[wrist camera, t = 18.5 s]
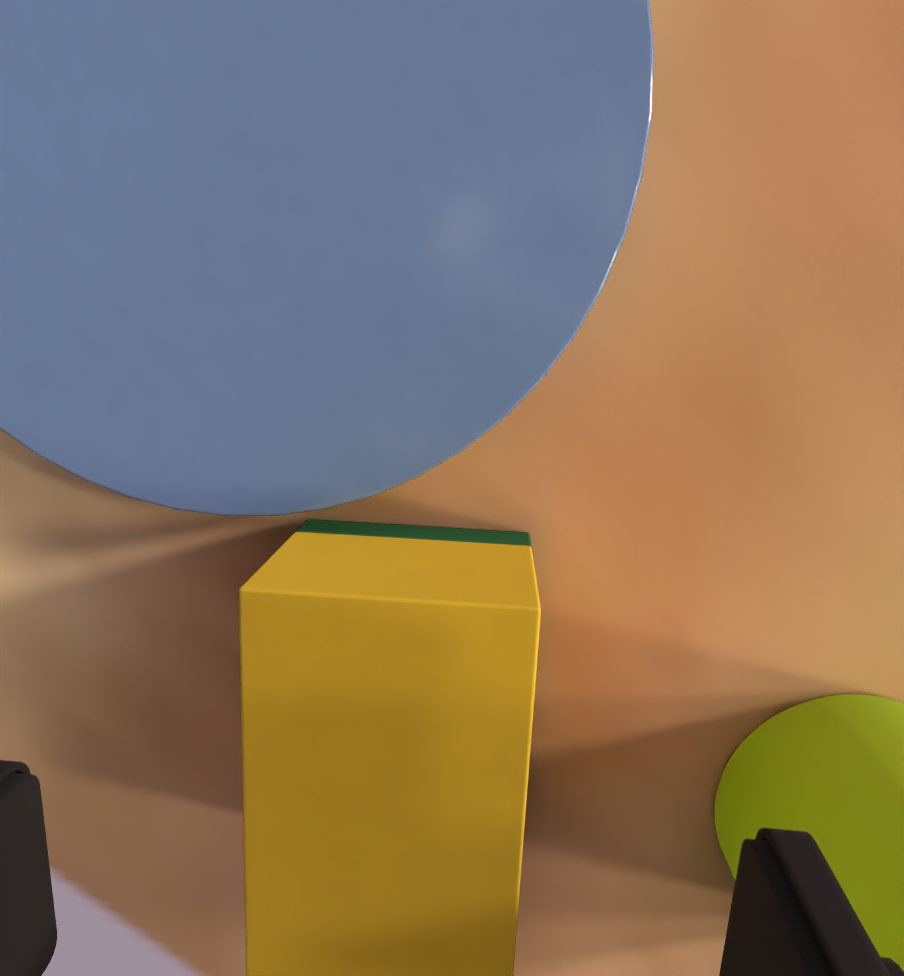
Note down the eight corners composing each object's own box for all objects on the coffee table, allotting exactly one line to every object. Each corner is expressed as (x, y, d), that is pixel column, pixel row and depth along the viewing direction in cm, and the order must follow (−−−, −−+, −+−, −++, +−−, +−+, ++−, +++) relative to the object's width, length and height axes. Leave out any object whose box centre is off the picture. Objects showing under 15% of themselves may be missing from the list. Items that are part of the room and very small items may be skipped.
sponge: (306, 518, 17) (237, 588, 12) (529, 531, 16) (541, 608, 12) (305, 829, 18) (245, 988, 14) (507, 846, 18) (510, 1013, 14)
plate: (-199, -371, 13) (-265, -438, 12) (687, -371, 13) (705, -442, 12) (-97, 482, 17) (-142, 494, 16) (603, 524, 16) (611, 540, 15)
